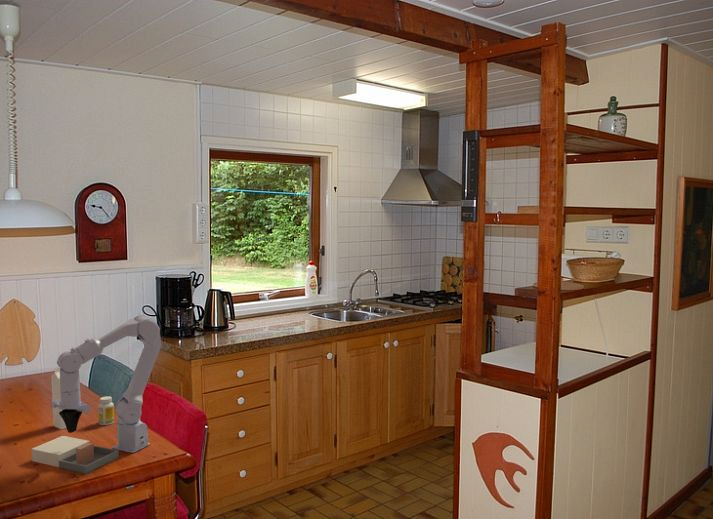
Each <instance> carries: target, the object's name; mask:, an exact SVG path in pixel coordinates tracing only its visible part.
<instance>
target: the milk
mask: <svg viewBox="0 0 713 519" xmlns="http://www.w3.org/2000/svg"><path fill="white" fill-rule="evenodd" d="M50 377H51V398H52V399H51V400H52V401H55V400H61V397H60V367H57V368H55V369H54V373H53V374H52V375H51V376H50ZM52 401H51V402H52ZM60 411H62V410H61V409H59V408H58V407H55V408H53V407H52V419H53V420H52V422H53V424H52V425H53V427H55V428H57V429H58V430H64V429H67V428H66V425H65V422H64V420H63V419H62V417H61V416H60V415H59V412H60Z"/></svg>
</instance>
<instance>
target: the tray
mask: <svg viewBox="0 0 713 519" xmlns="http://www.w3.org/2000/svg"><path fill="white" fill-rule="evenodd" d="M119 452H120V450H116V449H112V448H108V447H103V446H99V445H94V459H92V460H90V461H88V462H86V463H84V464H82V465H81V464H77V462H76V453H74V454H72V455H70V456H68V457H65V458H63V459H61V460H59V467H58V469H60V470H64V471H70V472H74V473H76V474H77V473H78V474H81V473H82V474H83V475H89V474H90V473H93V472H94V471H96V470H98V469H100V468H102V467H104V466H106V465H109V464H110V463H112V462H114V461H115V460H118V459H119V458H120V453H119ZM82 474H81V475H82Z"/></svg>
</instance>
